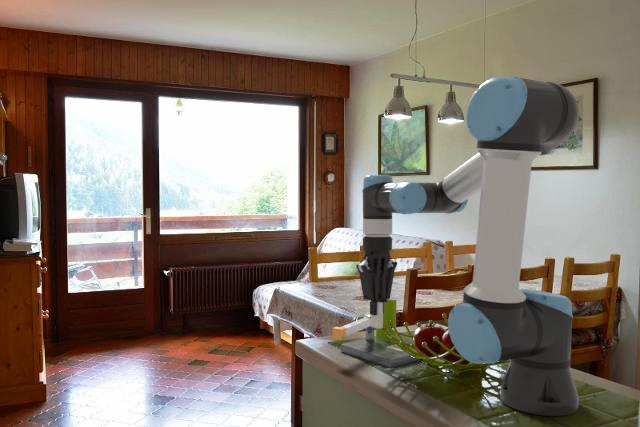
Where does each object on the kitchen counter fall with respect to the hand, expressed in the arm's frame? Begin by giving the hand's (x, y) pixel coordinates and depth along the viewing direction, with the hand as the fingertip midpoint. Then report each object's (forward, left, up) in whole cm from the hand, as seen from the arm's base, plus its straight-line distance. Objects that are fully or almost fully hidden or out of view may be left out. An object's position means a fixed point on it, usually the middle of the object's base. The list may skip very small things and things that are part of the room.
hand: (376, 327), depth 151 cm
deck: (+2, -3, -8) cm, 9 cm away
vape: (+10, -14, -8) cm, 19 cm away
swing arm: (+6, +2, -3) cm, 7 cm away
